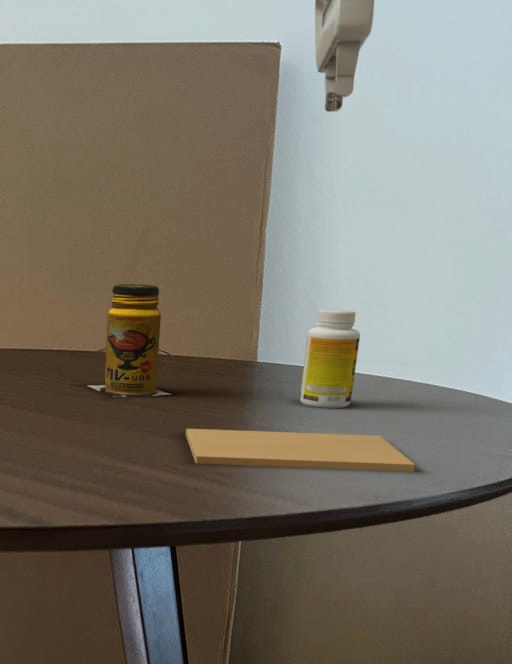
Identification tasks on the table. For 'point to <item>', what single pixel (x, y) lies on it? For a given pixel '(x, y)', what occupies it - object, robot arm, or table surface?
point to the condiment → (132, 342)
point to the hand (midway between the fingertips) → (337, 103)
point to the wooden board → (296, 450)
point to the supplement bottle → (330, 360)
